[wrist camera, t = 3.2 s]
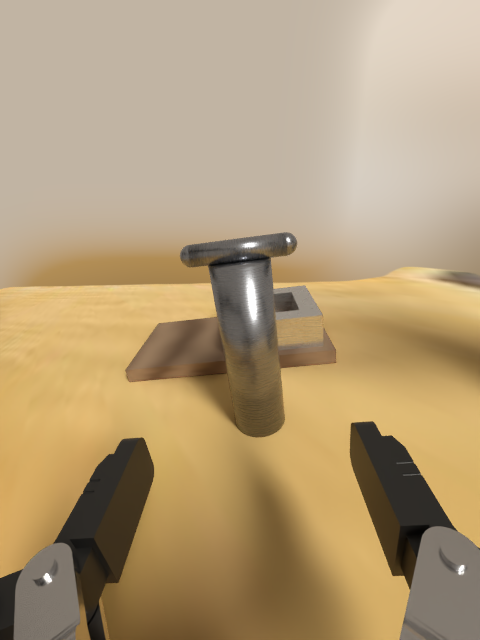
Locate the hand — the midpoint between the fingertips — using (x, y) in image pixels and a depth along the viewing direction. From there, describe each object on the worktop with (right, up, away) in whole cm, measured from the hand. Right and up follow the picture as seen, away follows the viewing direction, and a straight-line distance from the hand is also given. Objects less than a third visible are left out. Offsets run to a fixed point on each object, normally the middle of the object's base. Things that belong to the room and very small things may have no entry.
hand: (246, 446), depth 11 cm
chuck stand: (-1, +2, +24) cm, 25 cm away
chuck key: (+1, -3, +12) cm, 13 cm away
